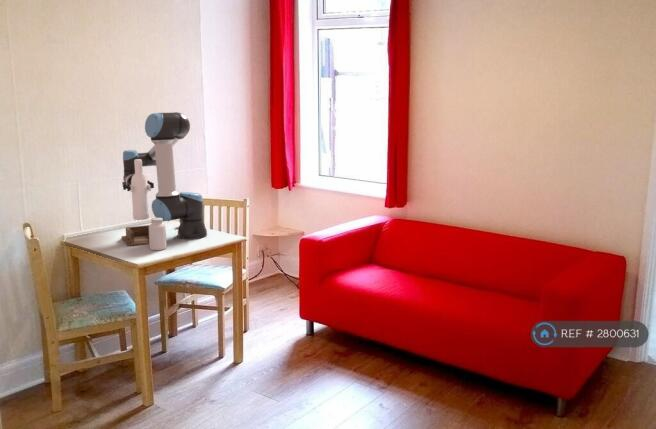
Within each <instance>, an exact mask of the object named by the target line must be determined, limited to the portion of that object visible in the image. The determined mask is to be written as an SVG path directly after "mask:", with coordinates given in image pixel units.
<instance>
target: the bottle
mask: <svg viewBox="0 0 656 429" xmlns="http://www.w3.org/2000/svg"><path fill="white" fill-rule="evenodd" d="M134 164H135V174H134V175H133V176H132V179H131V185H132V186H133V192H131V200H132V202H131V203H132V204H131V205H132V217H133V220H135V221H136V220H137V221H143V220H148V219H150V209H149V208H150V207H149V206H150V204H149V190H148V184H147V181H148V178H147V176H146V175H145V174H144V173H143V167H142V160H141V159H136V160H134Z"/></svg>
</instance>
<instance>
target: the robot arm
mask: <svg viewBox="0 0 656 429" xmlns="http://www.w3.org/2000/svg"><path fill="white" fill-rule="evenodd" d="M190 130H191V123H190V120H189V118H188V117H187V116H186V115H185V114H184V113H181V112H175V111H174V112H153V113H150V114H149V115H148V116H147V117H146V119H145V123H144V131H145V133H146V136H148V137H149V138H150V141H151V142H152V143H153V144H154V145H153V146H152V147H151V148H150V149H149V150H148V152H138V151H137V149H127V150H123V152H122V163H123V175H122V176H123V181H122V184H121V186H122V188H123V191H127V192H131V193H132V192H133V186H132V185H131V179H132V176H133V175H134V174H135V164H134V160H136V159H141V160H142V168H144V167H152V166H153V167H154V166H155V167H156V178H157V190H158V192H156V194H155V199H153V200H152V203H151V210H152V214H153V215H154V218H162V219H163V222H170V221H174V220H180V219H181V223H180V222H179V226H178V230H177V237H178V238H180V239H184V240H197V239H201V238H206V237H207V235H208V229H207V228H206V226H205V223H204V205H203V203H204V202H203V200H204V199H203V195H202V194H201V193H198V192H193V191H192V192H190V191H189V192H188V191H181V192H178V191H177V189H176V186H177V185H176V175H175V163H174V150H173V147H174V146H175V145H176V144H177V143H178V142H179V141H180V140H183V139H184V138H185V137H186V136H187V135H188V133H189V132H190ZM147 184H148V192H151V191H152V189H154V188H155V185H154V182H152V181H150V180H147Z"/></svg>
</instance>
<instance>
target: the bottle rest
mask: <svg viewBox="0 0 656 429" xmlns="http://www.w3.org/2000/svg"><path fill="white" fill-rule="evenodd" d="M149 225H150V224H147V225H138V226H137V225H136V226H127V227H125V235H123V236H122V235H121V239H122V241H123V243H125V245H126V247H135V246H144V245H149Z"/></svg>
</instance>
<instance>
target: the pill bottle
mask: <svg viewBox="0 0 656 429" xmlns="http://www.w3.org/2000/svg"><path fill="white" fill-rule="evenodd" d="M150 221H151V223H150V224H148V225H149V244H148V245H149V250H150V251H151V250H152V251H162V250H165V249H166V248H167V230H166V228H167V227H166V225H165V223H163V222H164V221H163V219H162V218H156V217H153V218H151V220H150Z"/></svg>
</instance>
